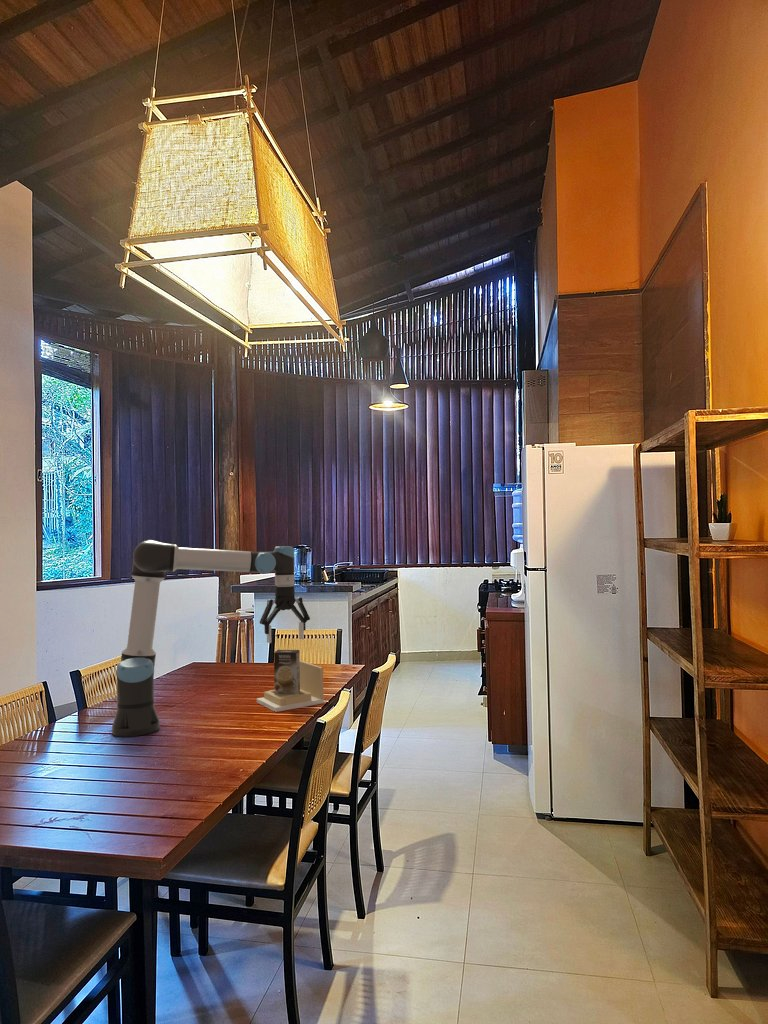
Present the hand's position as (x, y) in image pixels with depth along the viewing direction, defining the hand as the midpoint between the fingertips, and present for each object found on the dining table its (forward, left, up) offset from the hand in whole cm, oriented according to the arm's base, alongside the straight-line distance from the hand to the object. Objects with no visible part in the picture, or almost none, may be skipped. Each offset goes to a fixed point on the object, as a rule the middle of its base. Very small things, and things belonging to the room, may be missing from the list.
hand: (285, 640), depth 252 cm
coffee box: (0, 0, -20) cm, 20 cm away
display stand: (0, 0, -24) cm, 24 cm away
